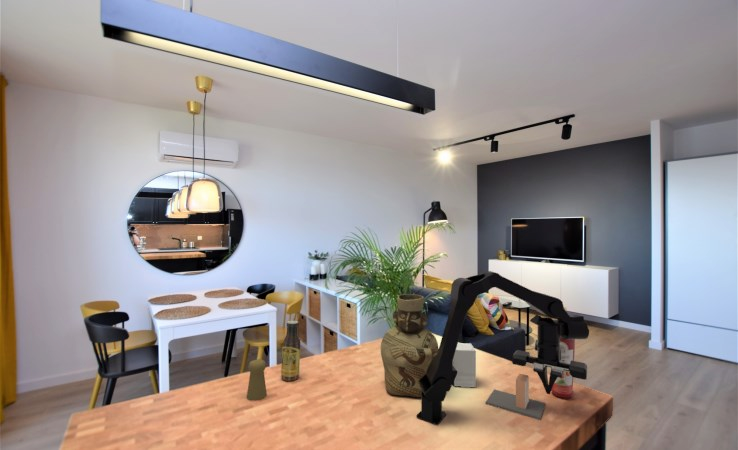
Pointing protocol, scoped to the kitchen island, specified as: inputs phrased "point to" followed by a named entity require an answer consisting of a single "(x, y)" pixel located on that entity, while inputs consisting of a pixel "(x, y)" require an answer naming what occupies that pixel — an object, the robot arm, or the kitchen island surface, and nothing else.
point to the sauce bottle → (291, 353)
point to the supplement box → (465, 365)
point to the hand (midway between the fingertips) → (548, 393)
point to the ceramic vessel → (407, 348)
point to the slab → (522, 391)
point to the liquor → (564, 383)
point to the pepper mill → (256, 380)
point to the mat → (509, 403)
